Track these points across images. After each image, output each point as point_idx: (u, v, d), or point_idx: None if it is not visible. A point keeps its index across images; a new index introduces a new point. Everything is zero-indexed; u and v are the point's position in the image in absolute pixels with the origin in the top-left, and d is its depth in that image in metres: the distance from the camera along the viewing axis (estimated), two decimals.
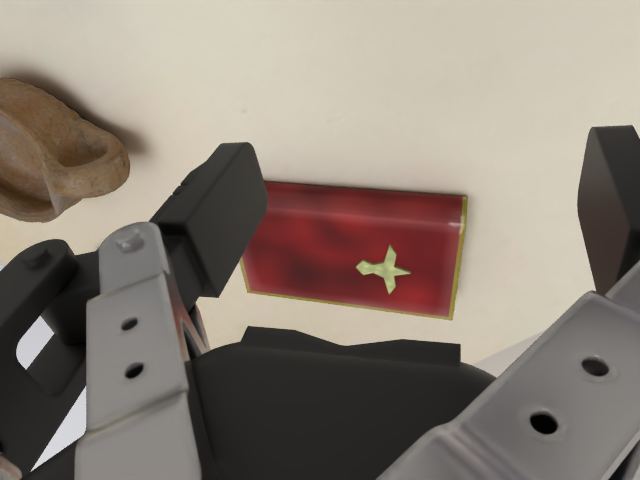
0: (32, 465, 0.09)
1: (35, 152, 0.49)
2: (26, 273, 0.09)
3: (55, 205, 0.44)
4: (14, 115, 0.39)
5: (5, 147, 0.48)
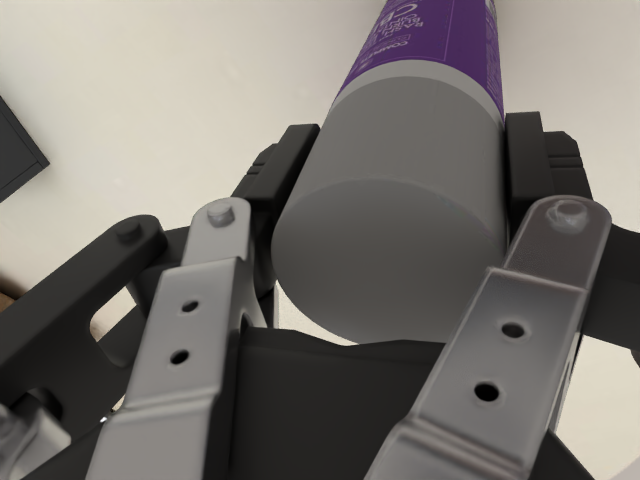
0: (89, 430, 0.09)
1: None
2: (116, 245, 0.09)
3: None
4: None
5: None
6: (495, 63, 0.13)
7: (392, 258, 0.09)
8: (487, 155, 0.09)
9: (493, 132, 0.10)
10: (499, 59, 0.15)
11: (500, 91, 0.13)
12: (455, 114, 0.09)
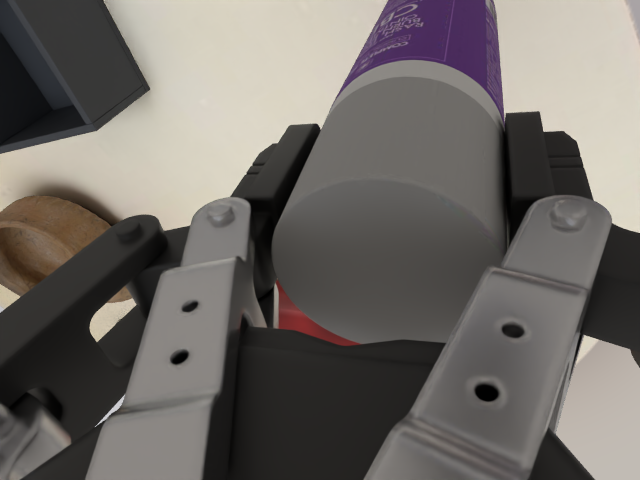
0: (89, 431, 0.09)
1: None
2: (116, 246, 0.09)
3: None
4: (56, 235, 0.46)
5: (41, 244, 0.55)
6: (495, 63, 0.13)
7: (392, 258, 0.09)
8: (487, 156, 0.09)
9: (493, 132, 0.10)
10: (499, 59, 0.15)
11: (500, 91, 0.13)
12: (454, 114, 0.09)
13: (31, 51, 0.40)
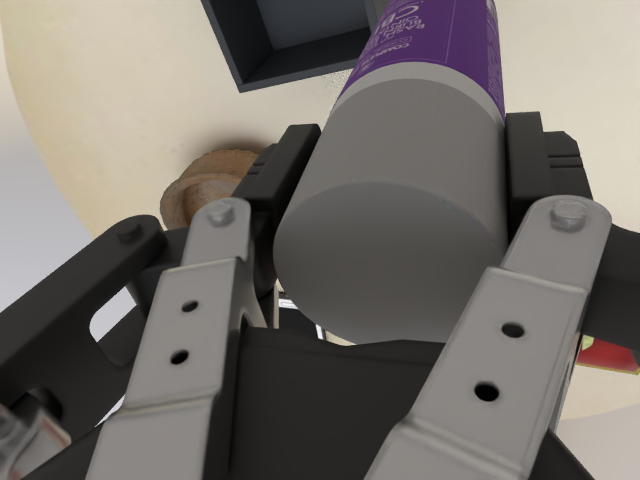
0: (89, 431, 0.09)
1: None
2: (116, 245, 0.09)
3: None
4: None
5: None
6: (496, 65, 0.13)
7: (393, 261, 0.09)
8: (489, 158, 0.09)
9: (494, 134, 0.10)
10: (500, 61, 0.15)
11: (501, 93, 0.13)
12: (456, 116, 0.09)
13: None
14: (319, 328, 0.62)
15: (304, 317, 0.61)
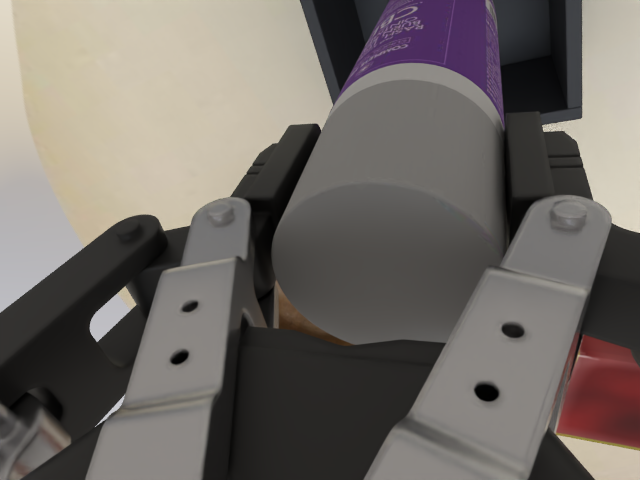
0: (89, 431, 0.09)
1: None
2: (116, 245, 0.09)
3: None
4: None
5: None
6: (495, 66, 0.13)
7: (392, 262, 0.09)
8: (487, 159, 0.09)
9: (493, 135, 0.10)
10: (499, 61, 0.15)
11: (500, 94, 0.13)
12: (454, 118, 0.09)
13: (386, 2, 0.27)
14: None
15: None
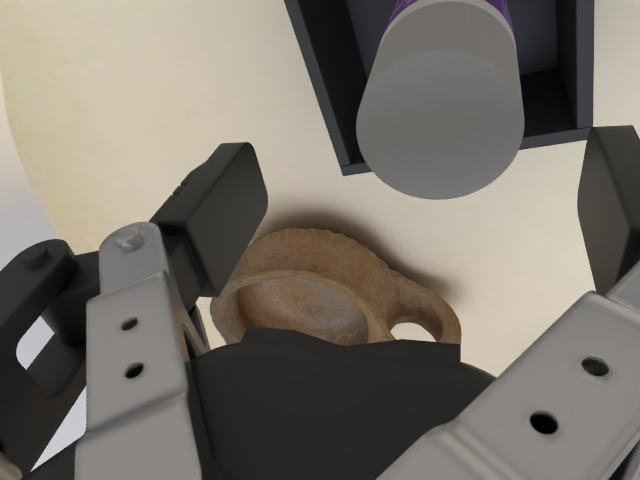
0: (32, 465, 0.09)
1: (301, 294, 0.41)
2: (26, 272, 0.09)
3: None
4: (357, 290, 0.31)
5: (270, 290, 0.40)
6: (506, 4, 0.17)
7: (445, 116, 0.13)
8: (508, 50, 0.13)
9: (510, 40, 0.14)
10: None
11: (511, 22, 0.17)
12: (484, 23, 0.13)
13: (382, 11, 0.25)
14: None
15: None
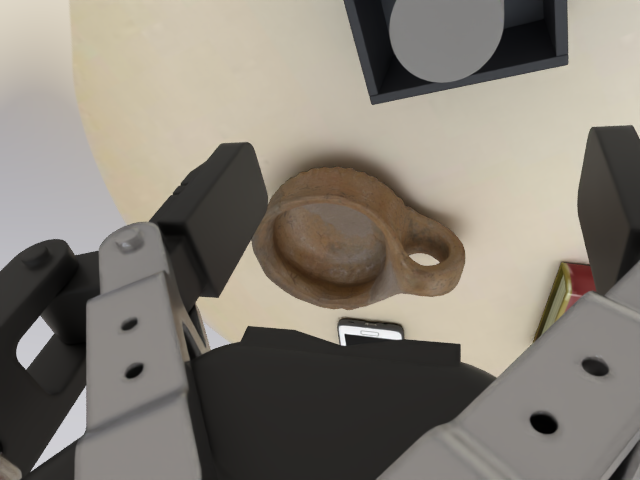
0: (32, 465, 0.09)
1: (325, 232, 0.47)
2: (26, 273, 0.09)
3: (383, 298, 0.41)
4: (378, 213, 0.37)
5: (298, 228, 0.46)
6: None
7: (450, 15, 0.19)
8: None
9: None
10: None
11: None
12: None
13: None
14: None
15: None
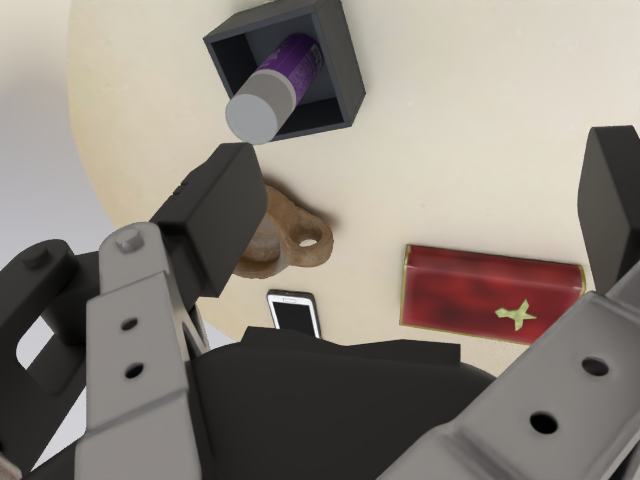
0: (32, 465, 0.09)
1: None
2: (26, 273, 0.09)
3: (280, 269, 0.61)
4: (269, 212, 0.57)
5: None
6: (300, 70, 0.43)
7: (252, 114, 0.38)
8: (277, 92, 0.39)
9: (283, 88, 0.40)
10: (308, 68, 0.44)
11: (298, 78, 0.42)
12: (270, 83, 0.39)
13: None
14: (314, 319, 0.76)
15: (302, 310, 0.76)
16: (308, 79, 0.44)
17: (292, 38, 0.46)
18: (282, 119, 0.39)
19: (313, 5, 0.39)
